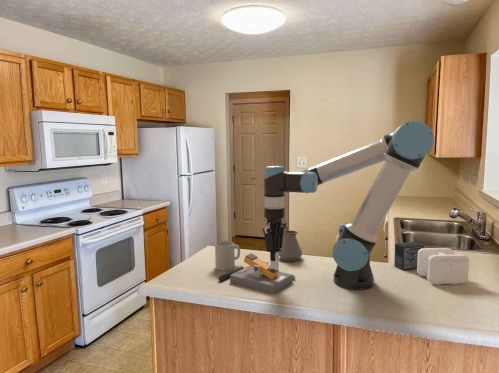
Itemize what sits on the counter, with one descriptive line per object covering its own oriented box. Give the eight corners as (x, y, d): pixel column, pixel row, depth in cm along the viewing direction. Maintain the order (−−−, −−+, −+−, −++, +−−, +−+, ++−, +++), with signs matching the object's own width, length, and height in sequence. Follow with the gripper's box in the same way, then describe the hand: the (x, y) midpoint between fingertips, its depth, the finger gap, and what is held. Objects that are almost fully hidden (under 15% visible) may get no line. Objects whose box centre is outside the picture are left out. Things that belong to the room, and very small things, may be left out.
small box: (413, 263, 163) (414, 240, 162) (424, 268, 157) (425, 244, 155) (393, 266, 160) (394, 242, 159) (403, 271, 154) (404, 246, 152)
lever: (277, 276, 141) (279, 270, 140) (271, 279, 137) (274, 273, 136) (249, 258, 148) (251, 252, 147) (243, 261, 144) (245, 255, 144)
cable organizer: (452, 275, 148) (454, 247, 147) (468, 285, 138) (470, 255, 136) (416, 275, 148) (417, 248, 147) (429, 286, 137) (431, 256, 136)
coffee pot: (304, 262, 166) (305, 230, 165) (279, 263, 166) (279, 230, 164) (295, 248, 188) (295, 220, 186) (273, 249, 187) (273, 220, 185)
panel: (292, 281, 143) (292, 263, 142) (273, 293, 131) (273, 274, 131) (250, 272, 154) (250, 254, 153) (230, 282, 143) (229, 263, 142)
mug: (221, 272, 154) (221, 247, 153) (212, 266, 161) (211, 242, 160) (245, 266, 161) (244, 242, 160) (234, 261, 168) (234, 238, 167)
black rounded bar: (244, 270, 156) (244, 266, 156) (221, 282, 143) (221, 277, 143) (241, 269, 157) (241, 265, 157) (217, 281, 144) (217, 276, 144)
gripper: (274, 204, 143) (275, 262, 146) (256, 209, 133) (256, 271, 135) (291, 205, 139) (291, 265, 142) (273, 211, 128) (274, 275, 131)
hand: (274, 268), depth 138 cm, fingers closed
